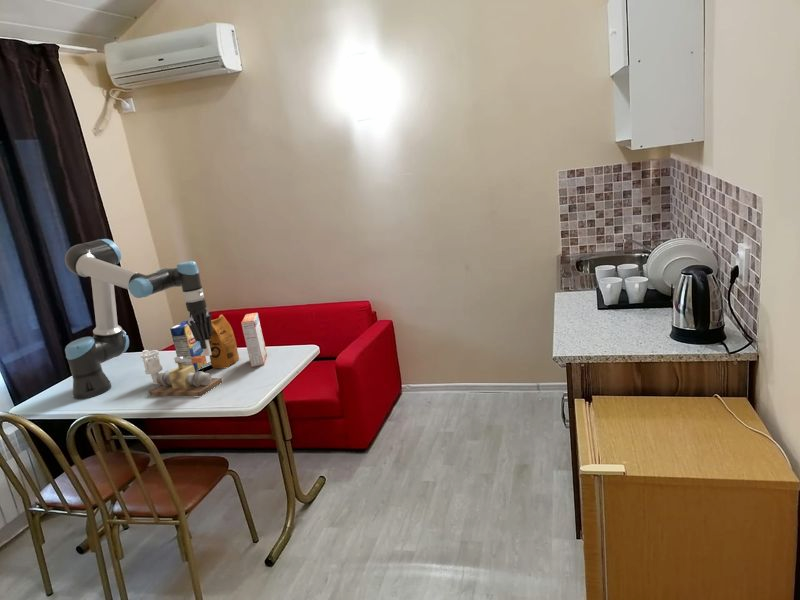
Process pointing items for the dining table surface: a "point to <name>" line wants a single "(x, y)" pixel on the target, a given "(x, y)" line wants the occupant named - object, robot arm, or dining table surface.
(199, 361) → the valve lever
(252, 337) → the cracker box
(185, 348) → the beverage box
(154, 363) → the white upright piece
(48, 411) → the dining table surface
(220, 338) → the coffee package
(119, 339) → the robot arm
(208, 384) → the valve stand
